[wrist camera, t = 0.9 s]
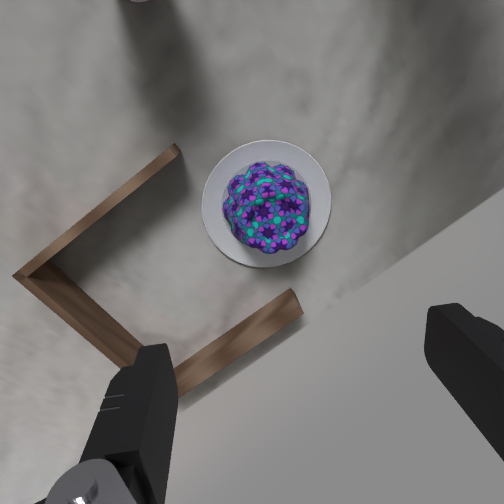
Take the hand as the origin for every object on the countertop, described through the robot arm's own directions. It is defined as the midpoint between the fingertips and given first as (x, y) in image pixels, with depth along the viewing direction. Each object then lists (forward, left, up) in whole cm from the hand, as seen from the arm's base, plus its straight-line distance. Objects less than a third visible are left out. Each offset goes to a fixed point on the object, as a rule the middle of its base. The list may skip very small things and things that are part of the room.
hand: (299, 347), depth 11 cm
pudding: (0, +3, -24) cm, 24 cm away
